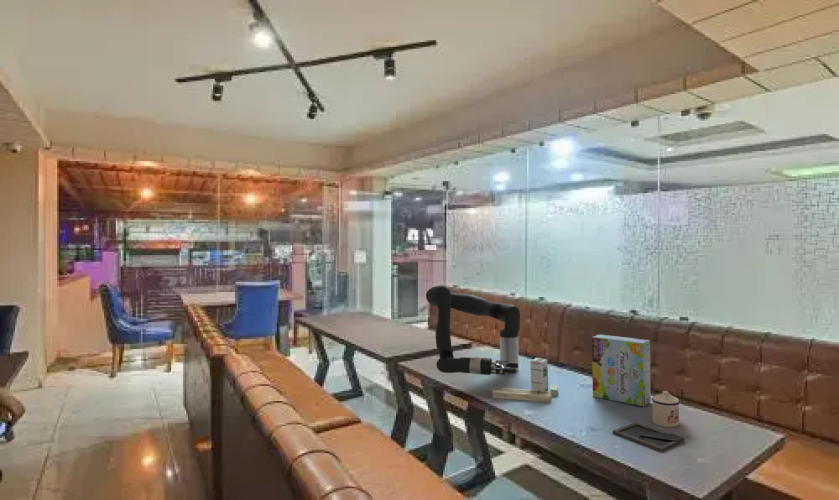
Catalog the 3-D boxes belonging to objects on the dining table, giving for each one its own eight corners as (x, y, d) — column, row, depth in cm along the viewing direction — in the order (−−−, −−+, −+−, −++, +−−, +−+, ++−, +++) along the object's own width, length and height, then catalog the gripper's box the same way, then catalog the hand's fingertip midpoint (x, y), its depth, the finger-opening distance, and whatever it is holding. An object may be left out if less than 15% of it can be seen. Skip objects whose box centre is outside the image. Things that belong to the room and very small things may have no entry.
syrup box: (543, 395, 216) (542, 362, 216) (530, 392, 220) (530, 360, 219) (548, 391, 221) (548, 359, 220) (535, 389, 224) (535, 357, 224)
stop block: (550, 390, 223) (550, 384, 223) (557, 390, 222) (557, 385, 222) (550, 395, 216) (550, 389, 216) (557, 395, 215) (557, 390, 215)
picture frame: (684, 443, 167) (635, 426, 183) (684, 437, 167) (635, 420, 182) (661, 453, 160) (612, 435, 175) (661, 447, 160) (612, 429, 175)
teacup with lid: (671, 430, 177) (671, 397, 176) (646, 422, 184) (646, 391, 184) (688, 421, 184) (688, 390, 184) (663, 414, 191) (663, 384, 191)
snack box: (651, 402, 205) (651, 339, 204) (644, 408, 199) (644, 343, 198) (599, 391, 220) (599, 333, 219) (591, 396, 213) (590, 336, 212)
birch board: (494, 393, 221) (494, 387, 220) (551, 397, 214) (551, 391, 213) (492, 397, 215) (492, 391, 215) (550, 402, 208) (550, 395, 208)
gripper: (477, 361, 221) (515, 364, 216) (483, 354, 235) (518, 355, 230) (478, 378, 221) (515, 381, 217) (483, 369, 235) (518, 372, 230)
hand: (517, 368), depth 223 cm, fingers open, 8 cm apart
